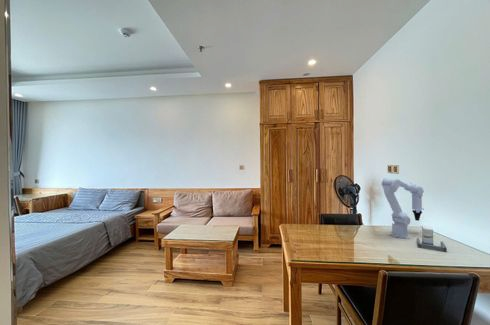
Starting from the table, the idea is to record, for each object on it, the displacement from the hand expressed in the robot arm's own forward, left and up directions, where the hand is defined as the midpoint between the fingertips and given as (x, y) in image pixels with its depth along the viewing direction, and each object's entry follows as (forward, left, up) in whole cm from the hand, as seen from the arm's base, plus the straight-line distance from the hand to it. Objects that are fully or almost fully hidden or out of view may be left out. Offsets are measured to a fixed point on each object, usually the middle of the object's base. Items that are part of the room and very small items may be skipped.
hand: (417, 220), depth 161 cm
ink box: (+4, -23, -11) cm, 25 cm away
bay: (+5, -24, -10) cm, 27 cm away
